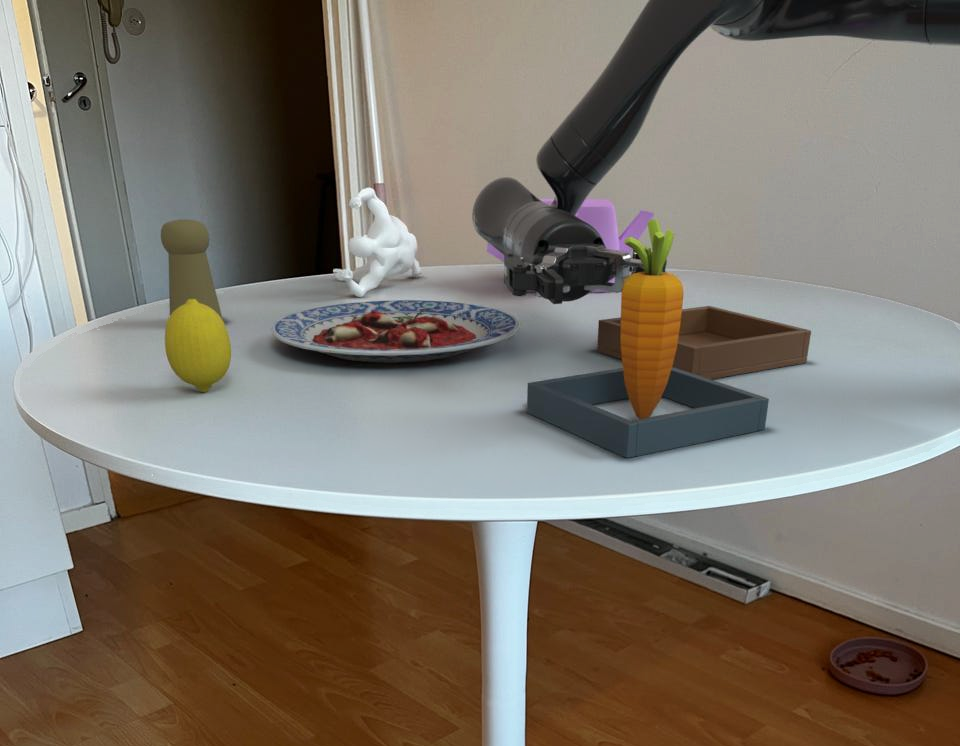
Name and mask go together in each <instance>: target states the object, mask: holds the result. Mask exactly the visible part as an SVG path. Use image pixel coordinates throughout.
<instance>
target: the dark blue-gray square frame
mask: <svg viewBox="0 0 960 746" xmlns="http://www.w3.org/2000/svg"><path fill="white" fill-rule="evenodd" d="M526 392H527V394H526V396H527V397H526V413H527V414H529V415H532V416H534V417H536V418H537V419H540V420H542V421H545V422H547V423H549V424H551V425H553V426H555V427H558V428H559V429H561V430H564V431H567V432H568V433H571V434H573V435H575V436H577V437H579V438H582V439H584V440H585V441H589V442H591V443H593V444H595V445H597V446H600V447H601V448H604V449H606V450H608V451H611V452H613V453H615V454H617V455H619V456H621V457H623V458H626V459H629V458H634V457H639V456H644V455H648V454H649V455H650V454H654V453H658V452H664V451H668V450H673V449H677V448H683V447H687V446H692V445H697V444H702V443H706V442H707V443H708V442H712V441H717V440H722V439H727V438H730V437H731V438H732V437H736V436H740V435H747V434H750V433H755V432H756V433H757V432H759V431H764V430H766V423H767V416H768V415H767V414H768V409H769V403H770V402H769V401H770V398H769V397H766V396H763V395H759V394H756V393H753V392H751V391H747V390H744V389H741V388H739V387H735V386H731V385H729V384H726V383H723V382H720V381H716V380H714V379H707V378H704V377H701V376H698V375H695V374H692V373H689V372H686V371H683V370H680V369H677V368H674V367H672V369H671V372H670V376H669V379H668V383H667V386H666V388H665V390H664V392H663V394H662V397H663V398H666V399H669V400H671V401H674V402H677V403H679V404H682V405H685V406H688V407H691V409H686V410H679V411H675V412H670V413H664V414H659V415H653V416H650V417H648V418H642V419H639V418H638V419H632V420H630V419H627V418H625V417H624V416H623V417H622V416H620V415H618V414H616V413H613V412H611V411H608V410H605V409H604V408H601V407H598V406H596V405H597V404H603V403H608V402H613V401H620V400H625V399H629V396H628V393H627V389H626V386H625V380H624V373H623V367H619V368H613V369H608V370H607V369H606V370H600V371H593V372H588V373H582V374H576V375H575V374H574V375H569V376H563V377H555V378H550V379H544V380H537V381H530V382H527V389H526Z"/></svg>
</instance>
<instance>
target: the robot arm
mask: <svg viewBox="0 0 960 746" xmlns="http://www.w3.org/2000/svg"><path fill="white" fill-rule="evenodd" d="M709 27H710V28H711V29H712V30H713V31H715V33H716V34H718V35H719V36H721V37H722V36H723V37H724V38H727V39H729V40H732V41H738V42H759V41H773V40H782V39H795V38H809V37H844V38H853V39H859V40H869V41H881V42H894V43H895V42H896V43H908V44H909V43H910V44H919V45H929V46H943V47H944V46H947V47H960V0H648V1H647V3H645V6H644V7H643V8H642V10H641V12H640V13H639V15H638V17H637V18H636V20H635V21H634V22H633V24H632V25H631V27H630V29H629V31H628V32H627V34H626V35H625V37H624V39H623V40H622V42H621V43H620V45H619V46H618V48H617V50H616V51H615V52H614V54H613V56H612V57H611V59H610V60H609V62H608V63H607V65H606V66H605V67H604V69H603V71H602V72H601V73H600V75H599V76H598V78H597V79H596V80H595V81H594V83H593V84H592V85H591V86H590V88H589V89H588V90H587V91H586V93H585V94H584V95H583V97H582V98H581V99H580V101H578V103H577V104H576V105H575V106H574V107H573V109H571V111H570V112H569V113H568V114H567V116H566V117H565V118H564V119H563V120H562V122H561V123H560V124H559V125H558V126H557V128H556V129H555V130H554V131H553V132H552V134H551V135H550V136H549V137H548V138H547V140H546V141H545V142H544V143H543V144H542V145H541V147H540V148H539V149H538V152H537V155H536V159H535V160H536V165H537V169H538V171H539V173H540V174H541V176H542V177H543V179H544V180H545V182H546V183H547V184H548V186H549V187H550V189H551V191H552V192H553V193H554V198H553V199H554V201H553V202H552V204H551V205H548V204H546V203H544V202H543V201H541V200H540V199H541V198H539V197H537V196H536V195H535V194H534V193H533V192H532V191H531V190H530V189H528V188H527V186H525V185H524V184H522V182H520V181H519V180H518V179H516V178H514V177H511V176H501V177H499V178H496V179H493V180H491V181H490V182H489V183H487V184H486V185H485V186H484V187H483V188H482V189H481V190H480V192H479V193H478V195H477V196H476V198H475V201H474V204H473V207H472V215H471V216H472V217H471V218H472V224H473V227H474V230H475V231H476V233H477V234H478V235H479V236H480V237H481V238H482V239H483V240H485V241H486V242H487V244H488V243H490V244H491V245H492V246H493V247H495V248H496V249H497V250H498V251H500V252H501V253H502V254H503V255H504V262H503V284H504V285H505V286H506V288H507V290H508V291H510V293H511V295H513V296H516V297H518V298H519V297H520V298H521V297H524V296H526V295H527V292H526V290H532V291H534V292H533V296H535V297H537V298H543V299H545V300H548V301H549V302H550V303H551V304H552V305H562V304H563V302H564V303H565V302H573V301H577V300H579V299H582V298H584V297H585V296H587V295H588V294H590V293H592V292H591V291H596V290H604V291H610V292H609V293H615V294H619V293H622V286H623V283H624V280H625V279H626V278H627V277H628V276H630V275H632V274H634V273H639V272H645V270H644V267H643V264H642V261H641V259H640V258H639V256H638V255H637V253H636V252H635V251H634V250H633V249H632V255H631V253H628V252H624V251H618V250H611V249H606V246H605V244H604V242H603V240H602V238H601V236H600V234H599V233H598V232H597V231H596V229H595V228H593V227H592V226H591V225H589V224H588V223H586V222H584V221H583V220H581V219H579V218H578V217H576V216H575V215H576V213H577V212H578V210H579V208H580V207H581V205H582V204H583V202H584V201H585V199H588V196H589V195H590V193H591V192H592V191H593V190H594V189H595V187H596V186H597V185H598V184H599V183H600V182H601V181H602V179H603V178H605V176H606V175H607V174H608V173H609V172H610V171H611V170H612V169H613V167H614V166H615V165H616V164H617V163H618V162H619V161H620V160H621V159H622V158H623V156H624V155H625V154H626V153H627V152H628V150H630V147H631V146H632V144H633V143H634V142H635V140H636V138H637V136H638V135H639V134H640V131H641V130H642V128H643V126H644V124H645V122H646V119H647V117H648V115H649V112H650V111H651V108H652V106H653V103H654V101H655V99H656V97H657V95H658V92H659V91H660V88H661V86H662V84H663V82H664V81H665V79H666V77H667V76H668V74H669V73H670V71H671V70H672V68H673V66H674V65H675V64H676V63H677V61H678V59H679V58H680V57H681V55H682V54H683V53H684V52H685V51H686V50H687V48H688V47H690V46H691V44H692V43H693V42H694V41H696V40H697V38H699V36H701V35H702V33H704V32H705V31H706V30H707V29H708V28H709ZM667 262H668V258H667V259H666V261H665V264H664V266H663V269H662V272H666V269H667ZM614 277H615V283H611V282H608V281H610V280H611V279H613V278H614Z"/></svg>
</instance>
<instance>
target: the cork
mask: <svg viewBox="0 0 960 746" xmlns="http://www.w3.org/2000/svg"><path fill="white" fill-rule="evenodd" d="M160 242H161V245H162V246H163V249H164V250H165V251H166V252H167V253H168V288H169V289H168V297H169V301H168V302H169V316H170V315H171V314H172V313H173V312H174V311H175V310H176V309H177V308H178V307H180V306H181V305H184V304H185V303H186V302H187V300H189V299H196V300H197V301H198V302H199V303H201V304H204V305H206V306H208V307H210V308H212V309H213V310H214V311H215V312H216V313H217V314H218V315H219V316H220V317H221V319H222V320H223V321H224V319H223V315H222V311H221V307H220V303H219V299H218V295H217V292H216V288H215V284H214V280H213V275H212V271H211V268H210V264H209V260H208V259H209V258H208V256H207V253H206V252H207V250H208V248H209V246H210V234H209V231H208V228H207V226H205V224H204V223H203V222H202V221H198V220H195V219H188V218H187V219H183V218H182V219H175V220H170V221H167V222H165V223H164V224H162V226H161V229H160Z"/></svg>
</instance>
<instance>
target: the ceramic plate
mask: <svg viewBox="0 0 960 746" xmlns="http://www.w3.org/2000/svg"><path fill="white" fill-rule="evenodd" d="M520 328H521V321H520V320H519V319H518V318H517V317H516V316H514V315H513V314H511V313H508V312H506V311H503V310H502V309H498V308H494V307H489V306H485V305H480V304H475V303H466V302H457V301H446V300H445V301H443V300H422V299H421V300H419V299H399V300H397V299H395V300H369V301H358V302H347V303H338V304H332V305H326V306H321V307H320V306H319V307H315V308H310V309H304V310H301V311H297V312H294V313H291V314H288V315H286V316H284V317H281V318H280V319H278V320H277V321H275V322H274V323H272V326H271V328H270V330H271V331H270V332H271V334H272V336H273V337H274V338H275V339H277V340H278V341H280V342H282V343H284V344H286V345H288V346H292V347H296V348H299V349H302V350H308V351H313V352H318V353H321V354H325V355H327V356H330V357H332V358H339V359H342V360H343V359H344V360H349V361H352V362H362V363H363V362H364V363H375V364H376V363H377V364H380V363H381V364H391V363H392V364H397V363H398V364H400V363H416V362H417V363H418V362H428V361H433V360H441V359H447V358H451V357H455V356H458V355H462V354H464V353H467V352H469V351H471V350H473V349H476V348H481V347H484V346H489V345H493V344H496V343H499V342H502V341H504V340H506V339H509V338H511V337H512V336H514V335H515V334H517V333H518V332H519V330H520Z"/></svg>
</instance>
